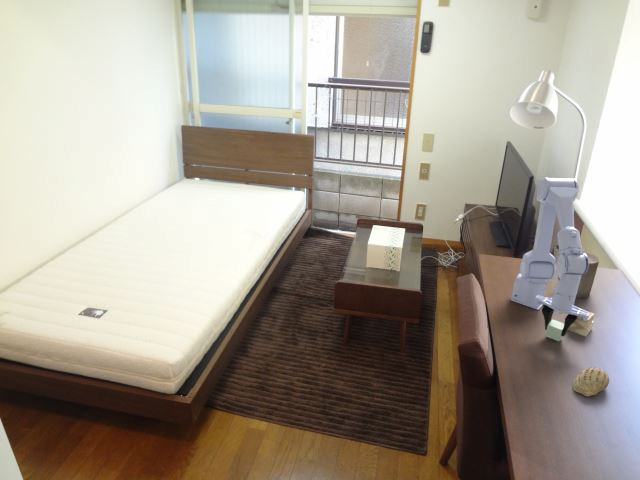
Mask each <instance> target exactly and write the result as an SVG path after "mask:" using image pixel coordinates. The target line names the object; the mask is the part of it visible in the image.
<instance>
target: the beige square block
mask: <svg viewBox="0 0 640 480" xmlns="http://www.w3.org/2000/svg"><path fill="white" fill-rule="evenodd" d="M579 308H580V307H579ZM580 309H582V310H584V311H586V312H588V313H590V315H589V318H588V320H587V321H583V319H581V318H577V319H576V321H575V322H574V324H577V325H579V326H582V327H584V328H587V327H588V326H589V325H590V324H591V323H592V321H594V317H595V313H593V312H591V311H588V310H587V309H586V310H585V309H583V308H580Z"/></svg>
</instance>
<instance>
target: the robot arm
mask: <svg viewBox="0 0 640 480" xmlns="http://www.w3.org/2000/svg"><path fill="white" fill-rule="evenodd" d="M579 187H580V186H579V182H578V180H577V179H576V178H575V177H572V178H563V177H560V178H557V177H545V176H544V177H543V178H541V180H539V182H538V186H537V191H536V201H537V202H540V203H539V204H540V205H539V211H538V218H537V223H536V230H535V236H534V244H533V248H532V249H531V250H529V251H528V252H526V253H524V254H523V256H522V259H521V262H520V264H519V265H520V266H519V272H520V273H518V274H517V276H516V278H515V280H514V283H513V288H512V293H511V297H510V301H512V302H515V303H516V304H520V305H523V306H526V307H528V308H531V309H534V310H537V311H539V310H541V314H542V316H543V319H544V330H545V331H546V330H547V326H548V324H549V323H550V321H551V320H552V319H553V315H554V313H557V314H567V315H566V316H565V318H564V328H563V331H562V334H561V336H563V337H565V335H566V334H567V332H568V331H569V330H568V328H569V327H570V326H571V325H572V324H573V323H574V322H575V321H576V319H577V318H581V319H583V321H587V320H588V318H589V315H590V313H588V312H586V311H587V310H586V311H584V310H585V309H583V308H581V309H580V307H578V306H576V305H574V304H575V301H576V294H577V290H578V287H579V283H580V279H581V276H582V275H581V274H585V273H586V272H587V271H588V267H589V261H588V256H587V255H586V254H585V252H586V251H585V250H583V247H582V241H581V234H580V230H579V229H577V228H575V213H574V202H575V201H576V199H577V197H578V194H579ZM556 218H557V219H558V223H559V227H560V230H559V231H558V232H557V234H556V235H557V236H556V237H557V242H558V250H559V251H558V252H559V256H558V257H557V259H556V257H555V256H554V255H553V254H551V246H552V239H553V233H554V229H555V223H556ZM556 265H557V266H556ZM555 277H557V279H556V282H555V286H554V290H553V295H552V297H546V296H545V292H546V289H547V284H548V283H549V282H550V280H553V279H554V278H555ZM582 309H583V310H582Z"/></svg>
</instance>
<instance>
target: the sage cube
mask: <svg viewBox="0 0 640 480" xmlns="http://www.w3.org/2000/svg"><path fill="white" fill-rule="evenodd" d="M564 323H565V322H564ZM564 323H563V322H562V321H558V320H556V319H553V318H552V319H551V321H550V323H549V324H548V326H547V330H545V334H544V337H547V338H549V339H552V340H554V341H557V342H560V340H562V338H563V337H564V336H561V334H562V331H563V328H564Z"/></svg>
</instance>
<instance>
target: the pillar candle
mask: <svg viewBox="0 0 640 480" xmlns="http://www.w3.org/2000/svg"><path fill="white" fill-rule="evenodd" d="M585 254H586V255H587V256H588V261H589V267H588V271H587V272H586V273H585V274H581V275H582V276H581V279H580V283H579V287H578V290H577V294H576V298H577V299H585V298H588V297H590V295H591V291H592V287H593V284H594V282H595V278H596V274H597V269H598V267H599V262H600V259H599V257H598V256H596V255H595V254H592V253H590V252H588V251H585ZM576 298H575V299H576Z"/></svg>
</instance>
